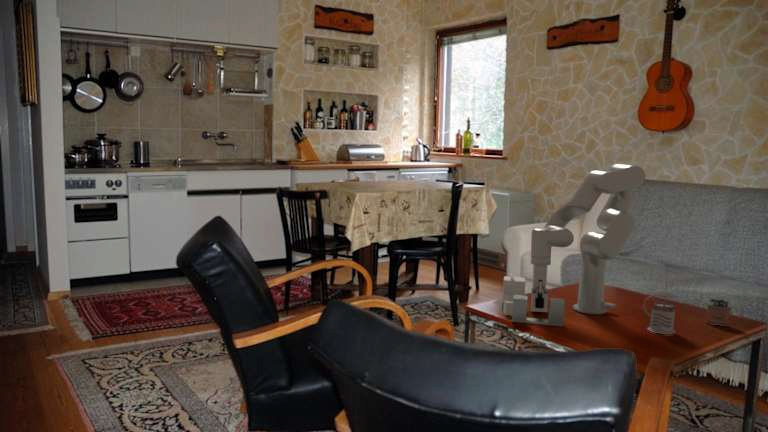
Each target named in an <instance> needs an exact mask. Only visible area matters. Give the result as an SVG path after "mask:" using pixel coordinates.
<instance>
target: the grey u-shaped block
mask: <svg viewBox="0 0 768 432" xmlns="http://www.w3.org/2000/svg"><path fill="white" fill-rule="evenodd" d="M528 298H529V297H528V295H525V294H524V295H514V297H513V312H512V316H511V322H513V323H520V324H521V323H523V324H532V325H541V326H542V325H543V326H552V327H560V328H561V327H563V326H564V319H565V318H564V315H565V299H564V298H557V297H556V298H555V297H549V298H548V299H549V301H548V303H549V304H548V311H547V313H548V314H547V315H548V317H547V318H537V317H536V318H535V317H528V316H527V314H528V313H527V312H528V311H527V310H528V302H529V301H528Z"/></svg>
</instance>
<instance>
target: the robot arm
mask: <svg viewBox="0 0 768 432" xmlns="http://www.w3.org/2000/svg"><path fill="white" fill-rule="evenodd" d="M645 180H646V171H645V170H644V169H643V167H642V166H639V165H636V164H629V163H615V164H613V165H611V166H610V167H609V169H608V170H607V171H606V170H597V169H596V170H591V171H590V172H588V173H587V175H586V176H585V177H584V179H583V181H582V182H581V183H580V185H579V187H578V188H577V189H576V191H575V192H574V194H573V195H572V197H571V198H570V199H569V200H568V201H567V202H566V203H564V204H563V205H562V206H561V207H559V208H558V209H557V210H556V211H554V212H553V214H552V215H551V216H550V218H549V220H548V221H547V222H546V223H545V225H544V227H534V228H533V229H532V231H531V239H530V241H531V243H530V245H531V246H530V264H531V265H533V266H532V284H531V285H532V286H531V290H532V289H533V290H534V289H536V297H535V308H544V291H545V290H546V287H547V282H548V281H547V278H548V266H551V264H552V263H551V262H552V247H553V248H554V247H555V248H561V249H562V248H568V247H569V246H571V245H572V244H573V243H574V239H575V236H574V234H573V232H572V231H571V230H570V229H568V228H565V227H566V226H567V225H568V224H569V223H570V222H571V221H573V220H574V219H577V218H579V217H582V216H584V215H587V214H589V213H590V211H591V210H592V209H593V207H594V205H596V203H597V201H598V200H599V198H600V197H601V195H602V194H605V195H609V197H608V198H607V201H606V202H605V204H604V206H603V207H602V209H601V210H600V212H599V214H598V216H597V218H596V225H597V228H598V229H599V230H601V231H602V232H599V231H592V230H591V231H588V232H586V233H584V234H583V235H582V237H580V241H579V251H580V271H579V282H578V294H577V303H575V304H573V306H572V309H573V310H574V311H576V312H579V313H582V314H588V315H603V314H606V313H607V309H613V310H615V309H616V303H611V302H606V301H605V299H604V292H605V280H606V273H607V272H606V270H607V267H606V265H607V263H606V261H612V260H615V259H616V258H617V257H618V256H619V255H620V253H621V252H622V250H623V249H624V247H625V245H626V243H627V242H628V241H629V239H630V237H631V235H632V233H633V231H634V229H635V218H634V216H633V214H631V213H630V212H628V211H629V208H630V207H631V205H632V203H633V199H634V198H633V194H634V193H633V189H635V188H638V187H640V186H641V185H642V184H643V183H644V182H645ZM603 232H605V233H603ZM537 288H539V290H537ZM542 289H543V290H542ZM538 291H539V292H538Z"/></svg>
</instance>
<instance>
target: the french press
mask: <svg viewBox="0 0 768 432" xmlns="http://www.w3.org/2000/svg"><path fill="white" fill-rule="evenodd" d="M671 266H672V265H671V263H669V262H667V263H665V264H664V267H666V272H668V271H669V268H670V267H671ZM667 281H668V274H666V276H665V283H668V282H667ZM652 294H653V295H650V296H648V297H646V298H645V300H644V301H643V311H644V313H645V314H646V315H648V317H649V326H648V327H647V328H646V330H647V329H648V330H649V331H651V332H650V333H652V332H654V333H653V334H655V333H661V334H672V333H675V332H676V331H675V329H674V325H675V315H676V310H675V305H674V304H671V303H667V302H665V301H666V298H667V299H675V298H677V297H678V294H676V292H674V291H672V290H670V289H667V284H665V286H664V289H660V288H659V289H657V290H655V291H652ZM654 296H657V297H661V298H663V302H658V301H657V302H653V303H652V305H653V306H652V308H651V313H649V312H648V310H647V309H646V302H647V300H648V299H650V298H651V299H652V301H653V300H654V298H655V297H654ZM648 330H647V331H648ZM649 331H648V332H649Z"/></svg>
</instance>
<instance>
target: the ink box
mask: <svg viewBox="0 0 768 432" xmlns="http://www.w3.org/2000/svg"><path fill="white" fill-rule="evenodd" d="M525 286H526V277H520V276H515V275H514V274H513V273H512V272H510V275H509V276H507V275H505V276H504V277H503V285H502V289H503V290H502V305H501V309H502V310H503V308H504V300H513V297H514V295H524V296H525V291H526V290H525Z"/></svg>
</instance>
